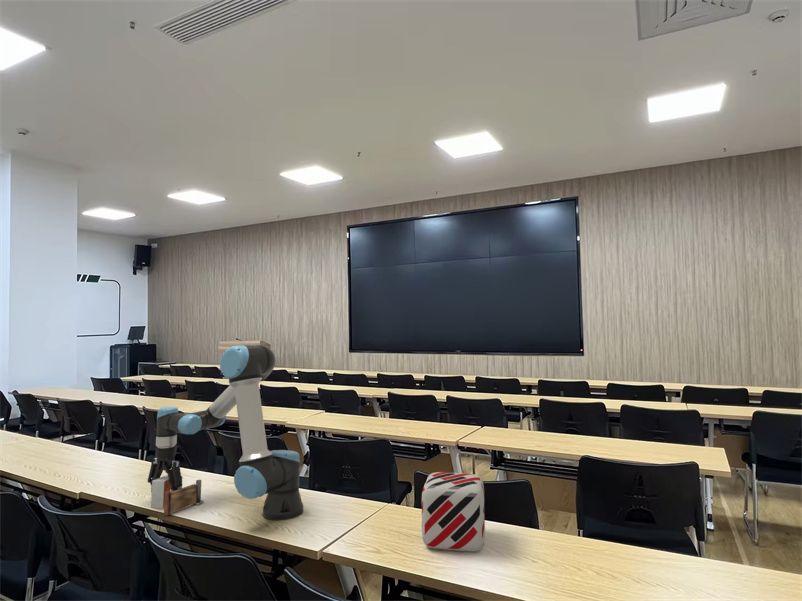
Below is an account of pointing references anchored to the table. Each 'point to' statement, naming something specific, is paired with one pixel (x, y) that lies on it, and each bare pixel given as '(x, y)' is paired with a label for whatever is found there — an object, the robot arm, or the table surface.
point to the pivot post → (198, 493)
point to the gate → (179, 499)
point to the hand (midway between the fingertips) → (163, 503)
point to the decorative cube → (453, 511)
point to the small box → (159, 491)
